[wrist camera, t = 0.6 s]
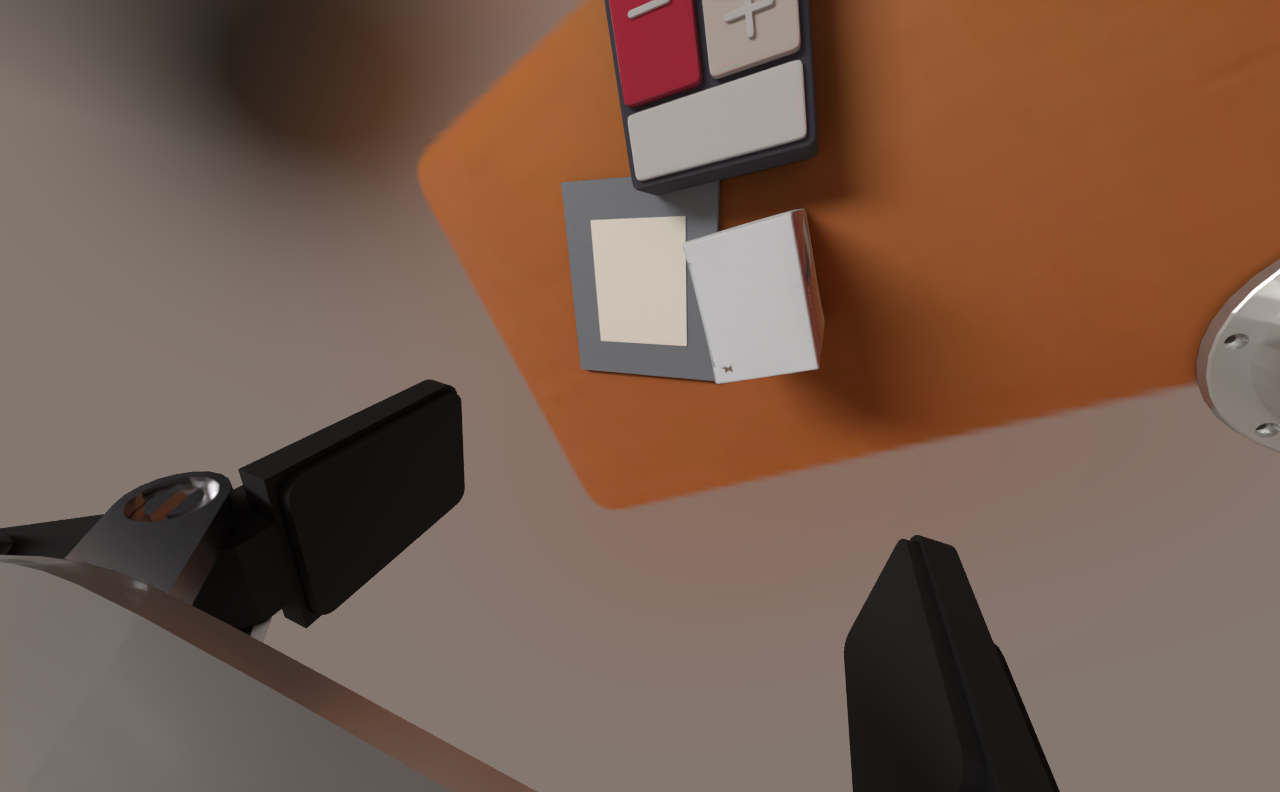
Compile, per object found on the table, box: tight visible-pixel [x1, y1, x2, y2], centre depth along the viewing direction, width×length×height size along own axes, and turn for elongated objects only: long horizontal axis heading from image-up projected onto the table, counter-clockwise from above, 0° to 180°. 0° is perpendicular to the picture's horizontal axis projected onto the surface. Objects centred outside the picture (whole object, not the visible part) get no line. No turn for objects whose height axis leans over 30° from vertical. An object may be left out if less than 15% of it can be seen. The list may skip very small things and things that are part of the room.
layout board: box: [561, 177, 720, 381], centre depth 35 cm, size 12×15×1 cm
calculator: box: [605, 0, 818, 195], centre depth 26 cm, size 11×4×15 cm
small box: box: [682, 208, 825, 384], centre depth 27 cm, size 8×6×10 cm
